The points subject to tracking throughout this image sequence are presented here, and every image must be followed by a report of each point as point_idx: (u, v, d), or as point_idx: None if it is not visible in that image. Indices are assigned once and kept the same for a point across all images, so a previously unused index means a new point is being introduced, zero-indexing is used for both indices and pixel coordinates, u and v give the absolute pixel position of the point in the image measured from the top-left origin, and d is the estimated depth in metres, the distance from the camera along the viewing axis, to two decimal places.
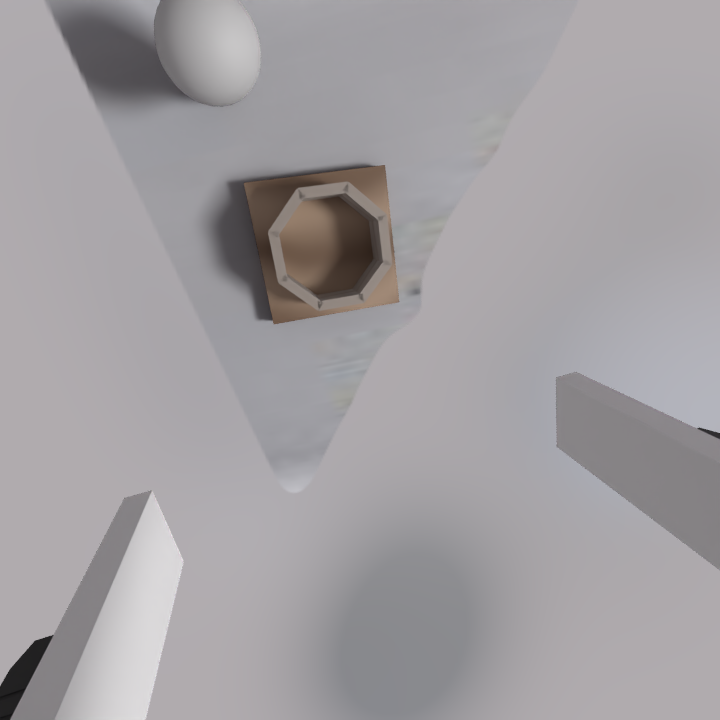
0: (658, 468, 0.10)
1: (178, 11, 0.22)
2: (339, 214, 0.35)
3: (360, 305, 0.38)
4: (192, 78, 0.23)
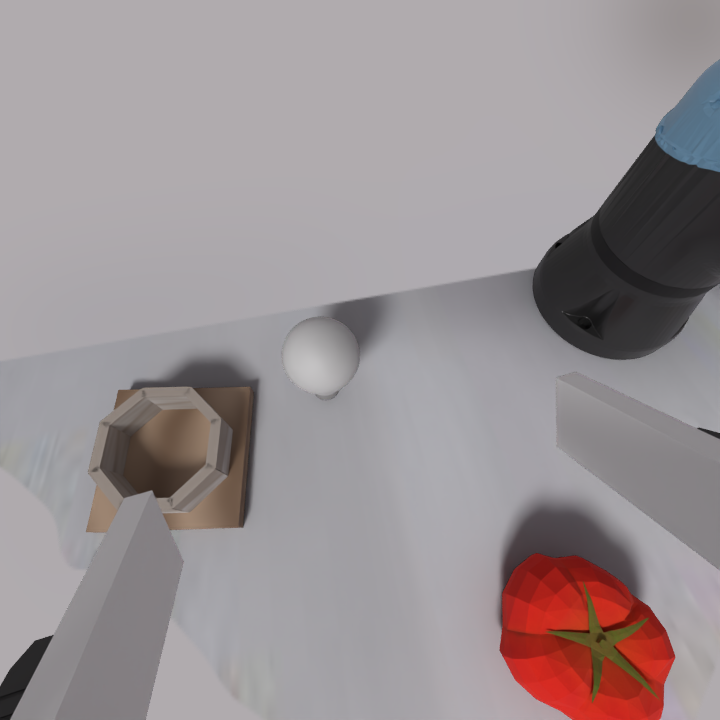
0: (658, 468, 0.10)
1: (328, 326, 0.30)
2: None
3: None
4: (291, 331, 0.31)
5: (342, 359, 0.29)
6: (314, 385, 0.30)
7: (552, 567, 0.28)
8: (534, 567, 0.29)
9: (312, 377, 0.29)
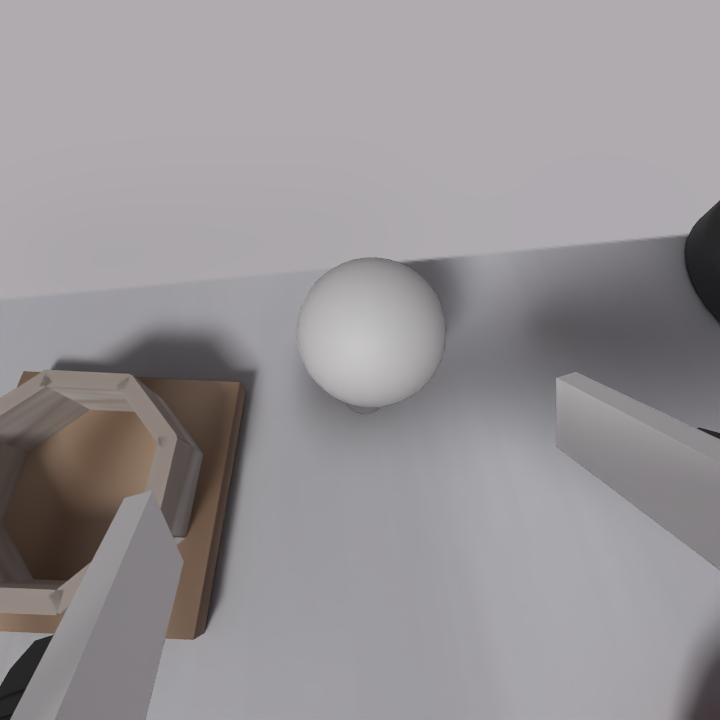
0: (658, 468, 0.10)
1: (395, 272, 0.15)
2: None
3: None
4: (321, 279, 0.16)
5: (421, 340, 0.14)
6: (359, 389, 0.15)
7: None
8: None
9: (357, 372, 0.14)
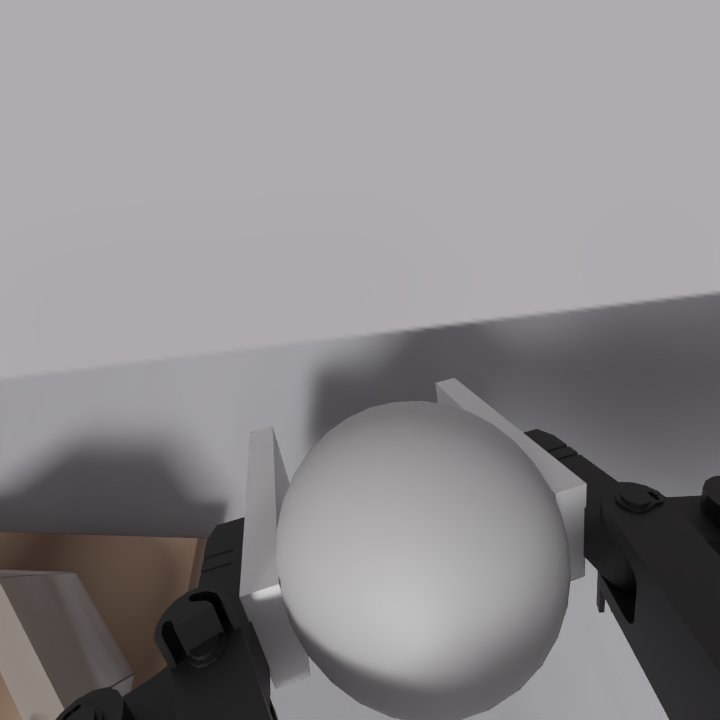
0: None
1: (478, 468, 0.07)
2: None
3: None
4: (320, 462, 0.08)
5: (542, 629, 0.06)
6: (405, 719, 0.07)
7: None
8: None
9: (404, 706, 0.06)
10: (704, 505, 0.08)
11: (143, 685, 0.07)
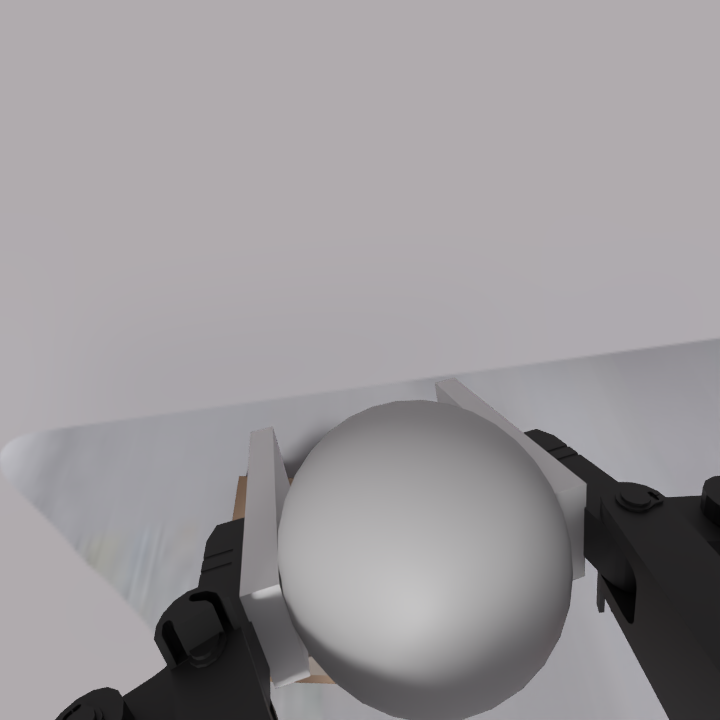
0: None
1: (480, 467, 0.07)
2: None
3: None
4: (322, 462, 0.08)
5: (545, 628, 0.06)
6: (407, 718, 0.07)
7: None
8: None
9: (407, 705, 0.06)
10: (704, 506, 0.08)
11: (143, 685, 0.07)
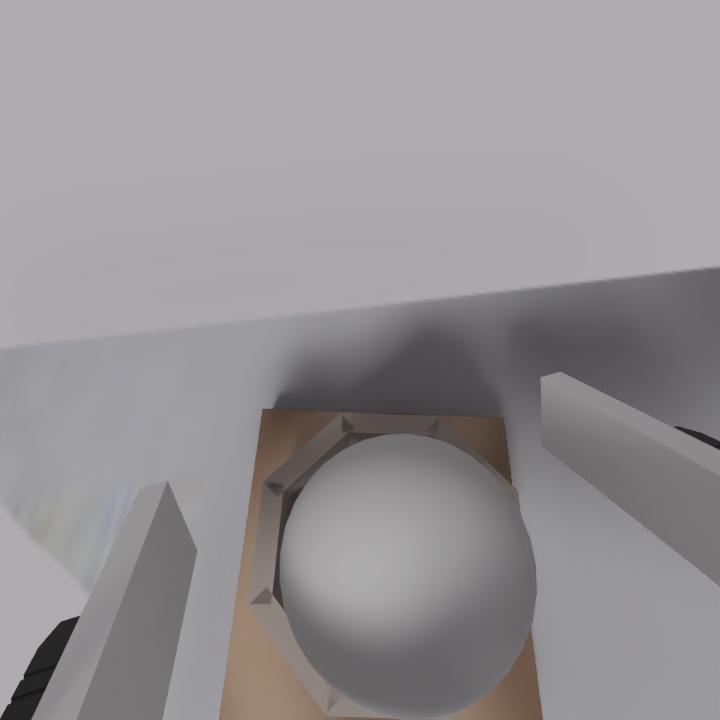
0: (636, 466, 0.10)
1: (453, 505, 0.08)
2: None
3: (243, 601, 0.16)
4: (317, 496, 0.09)
5: (507, 643, 0.08)
6: (392, 717, 0.08)
7: None
8: None
9: (390, 708, 0.08)
10: None
11: None
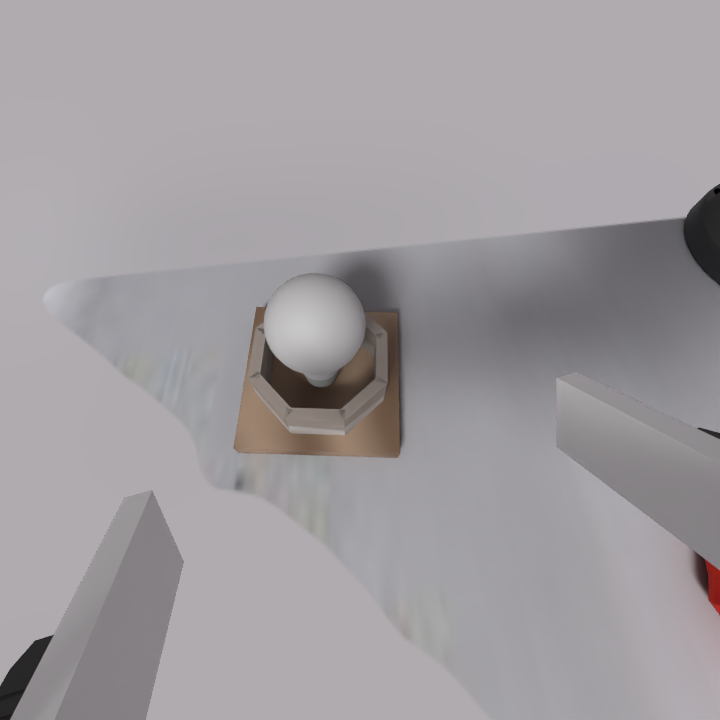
0: (658, 468, 0.10)
1: (326, 283, 0.22)
2: (354, 393, 0.31)
3: (245, 398, 0.31)
4: (278, 288, 0.23)
5: (342, 327, 0.22)
6: (303, 360, 0.22)
7: None
8: None
9: (301, 348, 0.22)
10: None
11: None
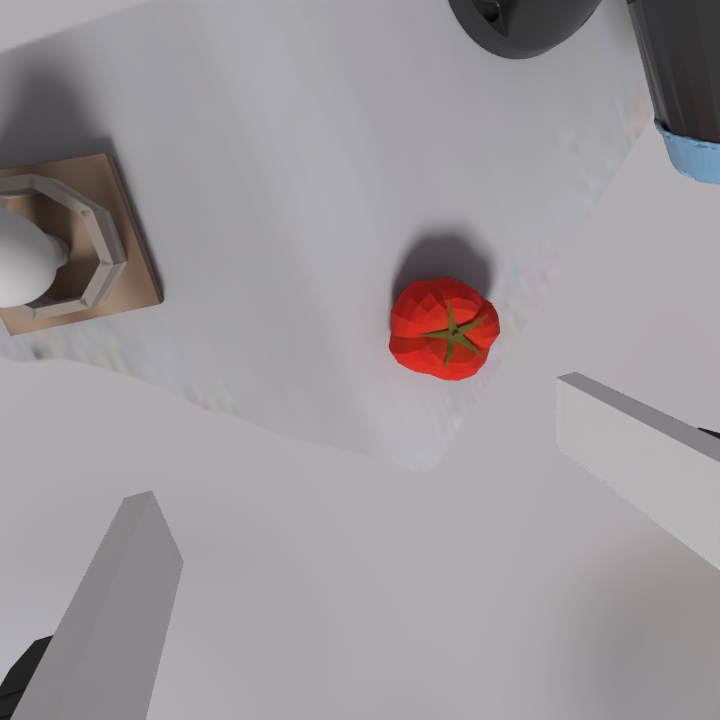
0: (658, 468, 0.10)
1: None
2: (97, 260, 0.33)
3: None
4: None
5: (15, 277, 0.24)
6: (2, 306, 0.25)
7: (427, 293, 0.36)
8: (414, 294, 0.37)
9: None
10: None
11: None
